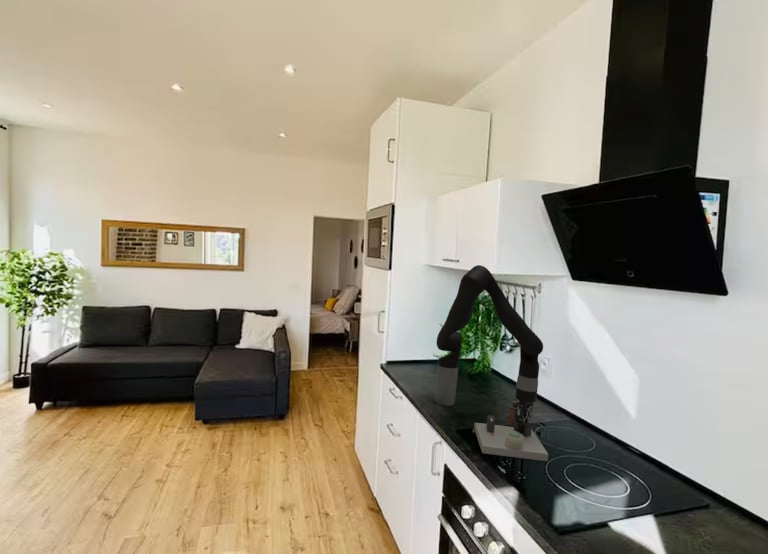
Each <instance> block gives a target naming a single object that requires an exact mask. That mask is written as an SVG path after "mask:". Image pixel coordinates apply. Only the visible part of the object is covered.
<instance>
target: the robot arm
mask: <svg viewBox="0 0 768 554" xmlns="http://www.w3.org/2000/svg"><path fill="white" fill-rule="evenodd" d="M484 291H486V293H487V294H488V295H489V298H490V299H491V301H492V303H493V306H494V307H493V308H494V310H495V313H496V316H497V318H498V320H499V321H500V324H502V325H503V327H504V328H505V329H506V330H507V331H508V333H509V334H510V335H512V336H513V338H514V339H515V340H516V342H517V343H518V344H519V346H520V347H519V349H520V350H519V354H520V355H519V356H520V358H519V360H520V362H519V367H518V376H517V378H516V385H515V387H516V388H515V399H516V400H519V401H520V403H519V404H518V409H516V410H515V415H516V423H518V427H517V432H519V433H520V434H523V432H524V424H525V422H527V423H529V421H530V419H531V417H532V411H533V408H534V404H535V403H536V402H537V395H538V389H539V388H538V387H539V375H540V374H539V372H540V364H539V355H541V354H542V352H543V350H544V343H543V341H542V340H541V339H540V337H538V335H537V334H536V333H535V332H534V331H533V329H531V328H530V327H529V326H528V324H527V323H526V321H525V320H524V319H523V318H522V317H521V315H520V314H519V313H518V312H517V311H516V310H515V308H514V307H513V306H512V304H511V302H510V301H509V300H508V298H507V297H506V295H505V293H504V292H503V290H502V289H501V287H500V286H499V284H498V282H497V280H496V279H495V277H494V276H493V274H492V273H491V271H490V270H489V269H488V268H487V267H486V266H483V265H479V264H477V265H474V266H473V267H472V268H471V269H470V270H468V271H467V272H466V273H465V274H464V275H462V277H461V279H460V283H459V286H458V291H457V295H456V297H455V299H454V301H453V303H452V305H451V307H450V309H449V312H448V315H447V317H446V320H445V321H444V323H443V325H442V326H441V328H440V329H439V332H438V333H437V337H436V347H437V349H438V350H439V351H443V352H450V353H448V354H447V355H444V356H441V357H439V358H438V360H437V372H436V383H435V392H434V402H435V403H436V404H438V405H441V406H446V407H447V406H448V407H449V406H450V407H451V406H454V405H455V402H456V393H457V392H456V391H457V383H458V372H459V363H460V356H461V351H462V343H463V338H462V337H463V336H462V334H461V332H459V331H461V330H462V329H464V328H466V326H467V325H469V323H470V321H471V319H472V317H473V315H474V307H473V305H474V303H475V302H476V300H477V298H478V297H479V296H480V295H481V294H482V293H483V292H484Z"/></svg>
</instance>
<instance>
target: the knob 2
mask: <svg viewBox="0 0 768 554" xmlns="http://www.w3.org/2000/svg"><path fill="white" fill-rule="evenodd" d="M527 422H528V421H527ZM527 422H525V424H524V432H523V435H525V436H531V429H532V428H533V424H531V423H529V422H528V423H527ZM513 427H514V430H515V431H517V427H518V423H516V420H515V422H514V426H513ZM532 430H533V429H532Z"/></svg>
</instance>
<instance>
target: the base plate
mask: <svg viewBox="0 0 768 554" xmlns="http://www.w3.org/2000/svg"><path fill="white" fill-rule="evenodd" d="M486 424H487V423H484V422H483V423H481V422H474V428H473V429H474V432H475V435H476V438H477V441H478V444H479V447H480V450H481V453H482V454H484V455H485V454H486V455H494V456H495V455H496V456H502V457H511V458H518V459H519V458H520V459H526V460H534V461H543V462H548V461H549V453H548V451H547V450H546V448H545V447H544V445H543V444H542V443H541V441H540V440H539V438H538V437H537V435H536V433H535V432H534V430H533V429H531V436H525V435H523V434H520V433H519V432H517V431H515V430H514V426H509V425H508V426H506V425H497V424H495V427H494V432H488V431H487V426H486Z"/></svg>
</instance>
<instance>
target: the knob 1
mask: <svg viewBox="0 0 768 554" xmlns="http://www.w3.org/2000/svg"><path fill="white" fill-rule="evenodd" d="M485 424H486V426H487V431H488V432H494V427H495V425H496V419H495V416H494V415H490V414H488V415H486V423H485Z"/></svg>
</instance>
